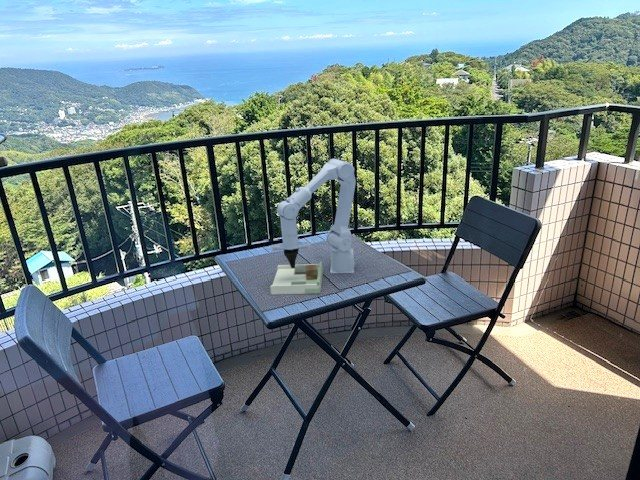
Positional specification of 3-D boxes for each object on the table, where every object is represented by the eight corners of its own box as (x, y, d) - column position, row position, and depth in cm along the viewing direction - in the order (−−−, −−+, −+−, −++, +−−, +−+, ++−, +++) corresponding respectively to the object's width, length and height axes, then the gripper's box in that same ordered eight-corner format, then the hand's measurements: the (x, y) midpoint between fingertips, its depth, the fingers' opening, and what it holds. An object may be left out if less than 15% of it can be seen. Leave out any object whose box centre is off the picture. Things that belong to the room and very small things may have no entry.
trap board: (322, 271, 176) (322, 261, 174) (320, 293, 159) (319, 282, 158) (278, 273, 178) (277, 262, 176) (271, 294, 161) (269, 283, 159)
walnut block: (317, 273, 170) (316, 264, 168) (318, 279, 166) (317, 269, 164) (305, 275, 170) (305, 265, 168) (306, 280, 166) (305, 270, 164)
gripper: (309, 228, 165) (312, 261, 170) (271, 230, 165) (275, 263, 170) (309, 235, 158) (311, 269, 163) (269, 237, 159) (273, 271, 164)
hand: (293, 267), depth 166 cm, fingers closed
